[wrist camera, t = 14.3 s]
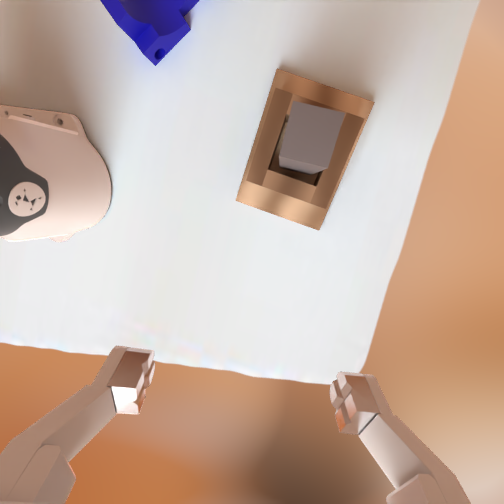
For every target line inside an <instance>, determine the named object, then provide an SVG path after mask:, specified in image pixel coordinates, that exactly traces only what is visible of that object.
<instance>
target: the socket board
mask: <svg viewBox="0 0 504 504" xmlns="http://www.w3.org/2000/svg"><path fill="white" fill-rule="evenodd" d="M293 101H296V102H301V103H305V104H309V105H313V106H318V107H322V108H326V109H330V110H335V111H339V112H343V113H345V115H344V119H343V122H342V125H341V128H340V131H339V134H338V138H337V141H336V144H335V147H334V150H333V153H332V157H331V160H330V163H329V166H328V168H327V169H324V170H322V171H319V172H317V173H314V174H312V175H306V174H302V173H298V172H294V171H290V170H286V169H282V168H280V167H279V154H280V150H281V146H282V142H283V139H284V135H285V131H286V127H287V123H288V119H289V115H290V111H291V107H292V103H293ZM373 105H374V102H372V101H370V100H367V99H364V98H361V97H358V96H355V95H352V94H349V93H346V92H344V91H341V90H338V89H335V88H332V87H329V86H326V85H323V84H320V83H317V82H315V81H312V80H309V79H306V78H303V77H300V76H297V75H294V74H291V73H289V72H286V71H283V70H280V69H277V70H276V73H275V76H274V80H273V83H272V86H271V89H270V92H269V96H268V99H267V102H266V105H265V108H264V112H263V115H262V118H261V121H260V124H259V128H258V131H257V134H256V137H255V140H254V144H253V147H252V150H251V153H250V156H249V160H248V163H247V166H246V169H245V172H244V176H243V179H242V182H241V185H240V188H239V192H238V195H237V198H236V201H238V202H241V203H244V204H246V205H249V206H252V207H255V208H258V209H260V210H263V211H266V212H269V213H271V214H274V215H277V216H280V217H283V218H285V219H288V220H291V221H294V222H297V223H299V224H302V225H305V226H308V227H311V228H313V229H316V230H320V227H321V225H322V223H323V220H324V218H325V216H326V213H327V211H328V209H329V206H330V204H331V202H332V199H333V197H334V195H335V193H336V190H337V188H338V186H339V183H340V181H341V179H342V176H343V174H344V172H345V169H346V167H347V165H348V162H349V160H350V158H351V156H352V153H353V151H354V149H355V146H356V144H357V142H358V139H359V137H360V135H361V132H362V130H363V128H364V126H365V123H366V121H367V119H368V116H369V114H370V112H371V109H372V107H373Z"/></svg>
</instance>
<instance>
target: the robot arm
mask: <svg viewBox="0 0 504 504" xmlns="http://www.w3.org/2000/svg"><path fill="white" fill-rule="evenodd" d="M62 121H63V124H62ZM110 200H111V182H110V177H109V173H108V170H107V168H106V165H105V163H104V161H103V159H102V158H101V156H100V155H99V153H98V152H97V150H96V149H95V148H94V147H93V146H92V144H91V143H90V142H89V140H88V139H87V137H86V134H85V132H84V129H83V127H82V124H81V122H80V120H79V119H78V118H77V117H76V116H75V115H72V114H68V113H61V112H53V111H45V110H37V109H29V108H21V107H13V106H5V105H0V237H1V238H3V239H6V241H9V242H18V241H26V240H34V239H41V238H50V239H52V240H53V241H55V242H65V241H67V240H69V239H70V238H71V237H72V236H73V235H74V234H75V233H76V232H79V231H82V230H85V229H89V228H91V227H93V226H95V225H96V224H97V223H98V222H100V221H101V219H102V218H103V217H104V215H105V214H106V212H107V210H108V207H109V204H110ZM153 358H154V350H147V349H139V348H131V347H124V346H115V347H114V348H113V349H112V351H111V352H110V354H109V356H108V357H107V359H106V361H105V362H104V364H103V366H102V368H101V369H100V371H99V373H98V374H97V376H96V378H95V379H94V381H93V383H92V384H91V385H86V386H85V387H83V388H82V389H81V390H79V391H78V392H77V393H75V394H74V395H72V396H71V397H70V398H68V399H67V400H66V401H64V402H63V403H61V404H60V405H59V406H57V407H56V408H55V409H53V410H52V411H50V412H49V413H48V414H46V415H45V416H44V417H42V418H41V419H40V420H38V421H37V422H35V423H34V424H33V425H31V426H30V427H28V428H27V429H26V430H24V431H23V432H21V433H20V434H19V435H17V436H16V437H15V438H13V439H12V440H11V441H10V442H9V443H8V445H7V446H6V447H5V449H4V450H3V452H2V453H1V454H0V504H65V502H66V500H67V498H68V495H69V493H70V491H71V489H72V487H73V485H74V483H75V481H76V477H75V474H74V472H73V470H72V468H71V466H70V464H69V463H68V462H69V461H70V460H71V459H72V458H73V457H74V456H75V455H76V454H77V453H78V452H79V451H80V450H81V449H82V448H83V447H84V446H85V445H86V444H87V443H88V442H89V441H90V440H91V439H92V438H93V437H94V436H95V435H96V434H97V433H98V432H99V431H100V430H101V429H102V428H103V427H104V426H105V425H106V424H107V423H108V422H109V421H110V420H111V419H112V418H113V417H114V416H115V415H116V413H124V414H139V413H140V410H141V407H142V405H143V402H144V399H145V389H146V388H147V387H149V386H150V383H151V381H152V377H153V374H154V368H155V362H154V361H153ZM330 399H331V402H332V405H333V406H334V407H335V408H336V409H337V411H336V414H335V417H336V421H337V424H338V428H339V432H340V433H347V434H355V435H359V437H360V439H361V440H362V442H363V443H364V444H365V446H366V447H367V449H368V450H369V452H370V453H371V455H372V456H373V457H374V459H375V460H376V462H377V463H378V464H379V466H380V467H381V469H382V470H383V472H384V473H385V474H386V476H387V477H388V478H389V480H390V481H391V483H392V484H393V486H394V487H395V488H396V490H395V491H393V492H392V493H390V494H389V495H388V496H387V498H386V500H387V503H388V504H471V503H470V501H469V499H468V497H467V496H466V494H465V492H464V490H463V488H462V487H461V485H460V483H459V481H458V480H457V478H456V476H455V475H454V474H453V473H452V472H451V471H450V469H448V467H447V466H446V465H444V463H442V461H441V460H440V459H439V458H438V457H437V456H436V455H435V454H434V453H433V452H432V451H431V450H430V449H429V448H428V447H427V446H426V445H425V444H424V443H423V442H422V441H421V440H420V439H419V438H418V437H417V436H416V435H415V434H414V433H413V432H412V431H411V430H410V429H409V428H408V427H407V426H406V425H405V424H404V423H403V422H402V421H401V420H400V419H399V418H398V417H397V416H394V415H393V414H392V411H391V409H390V407H389V405H388V403H387V401H386V399H385V396H384V394H383V392H382V390H381V388H380V386H379V384H378V382H377V379H376V378H375V377H374V376H373V375H367V374H361V373H350V372H339V373H338V374H337V380H335V381H333V382H332V384H331V386H330Z"/></svg>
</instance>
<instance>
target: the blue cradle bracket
mask: <svg viewBox="0 0 504 504" xmlns="http://www.w3.org/2000/svg"><path fill="white" fill-rule="evenodd" d="M100 1H101V2H102V3H103V5H104V6H105V8H106V9H107V11H108V12H109V13H110V15H111V16H112V18H113V19H114V21H115V22H116V23H117V25H118V26H119V27H120V28H121V29H122V30H123V31H124V32H125V33H126V34H127V35H128V36H129V37H130V38H131V39H132V40H133V41H134V42H135V43H136V44H137V46H138V47H139V49H140V50H141V52H142V53H143V54H144V55H145V56H146V57H147V58H148V59H149V60H150V61H151V62H152V63H153V64H154V65H155V66H156V65H157V64H158V63H159V62H160V61H161V60H162V59H163V58H164V57H165V55H166V54H167V53H168V52H169V51H170V50H171V49H172V48H173V47H174V46H175V45H176V44H177V43H178V42H179V41H180V40H181V39H182V38H183V37H184V36H185V35H186V34H187V33H188V32H189V31H190V30H191V29H190V27H189V26H188V24H187V22H186V21H185V19H184V18H183V17H184V16H185V15H186V14H187V13H188V12H189V11H190V10H191V9H192V8H193V7H194V6H195V5H196V4H197V2H198V1H199V0H100Z"/></svg>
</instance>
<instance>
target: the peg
mask: <svg viewBox="0 0 504 504" xmlns="http://www.w3.org/2000/svg"><path fill="white" fill-rule="evenodd" d="M344 115H345V113H343V112H339V111H335V110H330V109H326V108H322V107H318V106H313V105H309V104H305V103H301V102H296V101H293V103H292V107H291V111H290V115H289V119H288V123H287V127H286V131H285V135H284V139H283V142H282V146H281V150H280V154H279V167H280V168H282V169H286V170H290V171H294V172H298V173H302V174H306V175H312V174H314V173H317V172H319V171H322V170H324V169H327V168H328V166H329V163H330V160H331V157H332V153H333V150H334V147H335V144H336V141H337V138H338V134H339V131H340V128H341V125H342V122H343V119H344Z"/></svg>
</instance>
